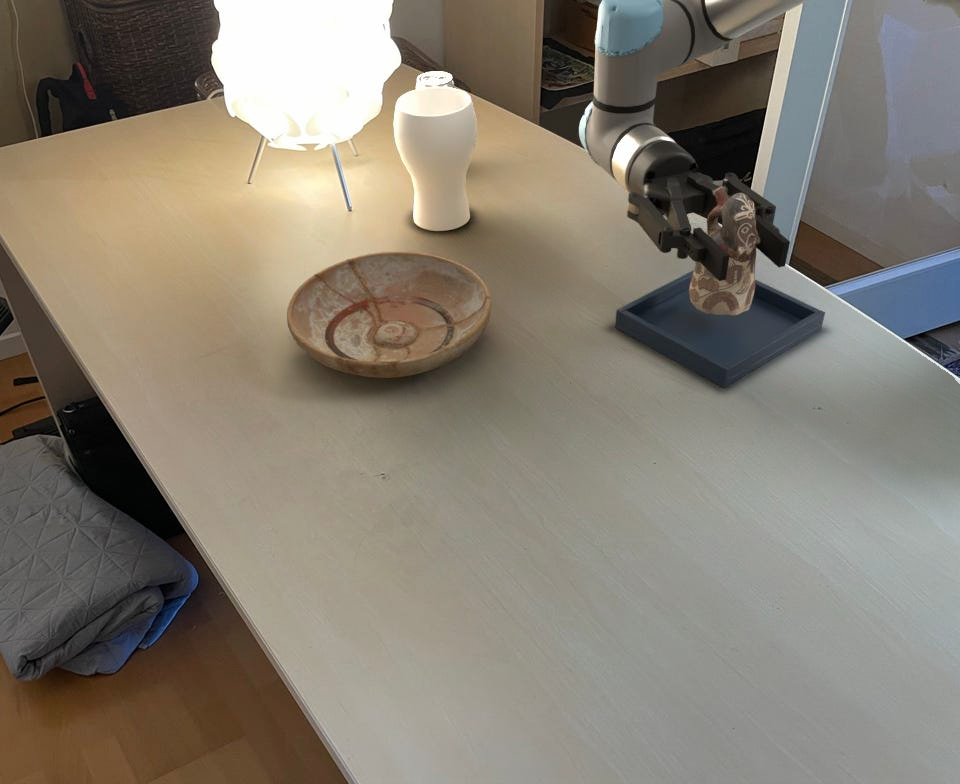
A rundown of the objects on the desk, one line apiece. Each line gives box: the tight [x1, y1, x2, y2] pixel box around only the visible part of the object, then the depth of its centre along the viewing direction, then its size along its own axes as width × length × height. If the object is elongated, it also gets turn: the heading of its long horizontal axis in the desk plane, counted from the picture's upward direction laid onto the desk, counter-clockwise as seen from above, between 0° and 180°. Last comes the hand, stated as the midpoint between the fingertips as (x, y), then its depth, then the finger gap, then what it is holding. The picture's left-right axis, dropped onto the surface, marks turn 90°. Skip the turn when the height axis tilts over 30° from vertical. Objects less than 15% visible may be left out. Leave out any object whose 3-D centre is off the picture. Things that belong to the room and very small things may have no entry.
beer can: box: [415, 70, 455, 90], centre depth 142 cm, size 5×5×12 cm
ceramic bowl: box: [286, 251, 492, 379], centre depth 114 cm, size 23×24×5 cm
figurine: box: [689, 187, 760, 315], centre depth 107 cm, size 7×7×12 cm
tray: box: [614, 269, 826, 389], centre depth 114 cm, size 17×17×2 cm
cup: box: [393, 87, 478, 232], centre depth 130 cm, size 11×11×15 cm
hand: (754, 261), depth 103 cm, fingers closed on figurine, 6 cm apart
